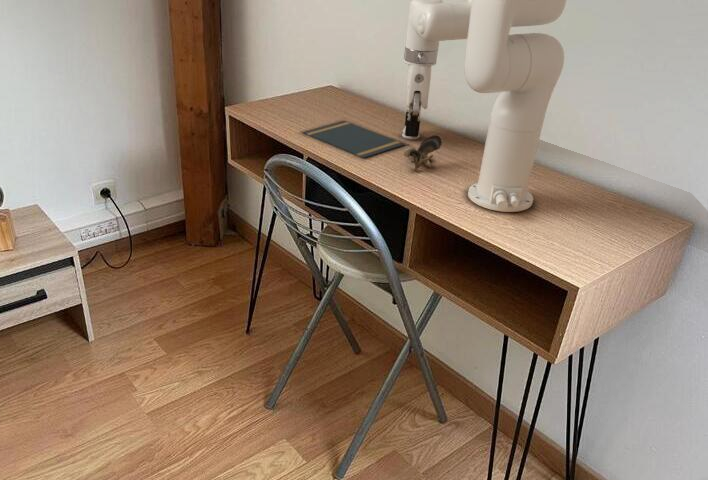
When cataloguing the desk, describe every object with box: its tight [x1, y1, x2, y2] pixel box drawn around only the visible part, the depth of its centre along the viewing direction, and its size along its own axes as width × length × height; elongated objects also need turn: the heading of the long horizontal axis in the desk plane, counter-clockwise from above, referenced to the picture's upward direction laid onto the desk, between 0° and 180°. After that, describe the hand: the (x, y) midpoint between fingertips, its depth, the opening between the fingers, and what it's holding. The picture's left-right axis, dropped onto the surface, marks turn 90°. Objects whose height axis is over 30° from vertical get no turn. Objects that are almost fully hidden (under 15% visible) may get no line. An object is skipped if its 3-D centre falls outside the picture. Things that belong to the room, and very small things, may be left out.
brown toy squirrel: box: [403, 134, 443, 172], centre depth 141 cm, size 8×7×9 cm
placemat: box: [302, 120, 406, 159], centre depth 155 cm, size 21×14×1 cm, turn 41°
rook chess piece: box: [401, 105, 421, 141], centre depth 155 cm, size 4×4×8 cm
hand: (411, 131), depth 157 cm, fingers open, 5 cm apart
